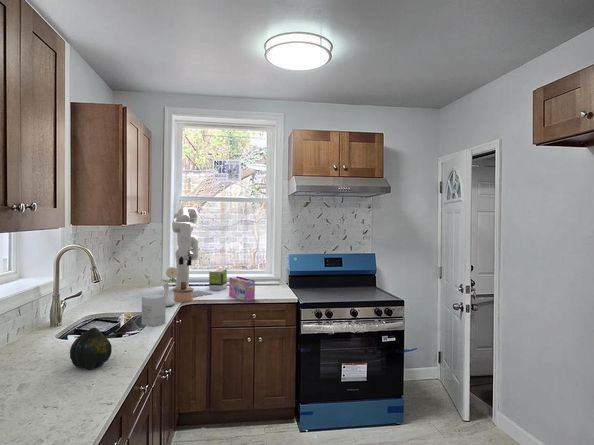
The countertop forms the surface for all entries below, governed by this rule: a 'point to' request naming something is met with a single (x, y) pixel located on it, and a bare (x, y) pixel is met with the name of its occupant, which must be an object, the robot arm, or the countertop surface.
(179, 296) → the bowl
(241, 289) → the gum box
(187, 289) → the lid
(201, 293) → the mat
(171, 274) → the flower in vase
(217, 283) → the tea box
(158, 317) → the grey canister
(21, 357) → the countertop surface
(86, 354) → the squash
